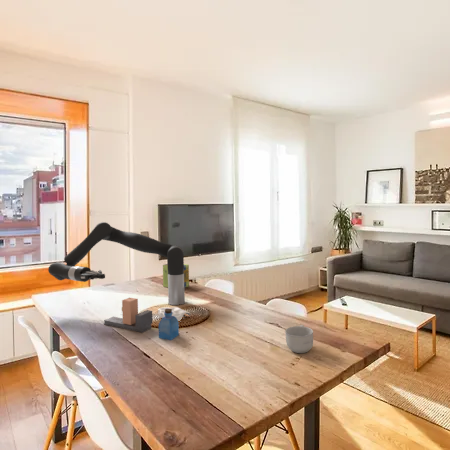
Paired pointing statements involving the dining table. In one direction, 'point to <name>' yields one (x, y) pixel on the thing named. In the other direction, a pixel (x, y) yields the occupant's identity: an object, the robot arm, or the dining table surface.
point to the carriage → (129, 310)
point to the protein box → (186, 275)
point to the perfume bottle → (168, 326)
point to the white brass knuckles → (173, 312)
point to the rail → (141, 323)
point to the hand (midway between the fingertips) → (103, 276)
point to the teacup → (299, 338)
